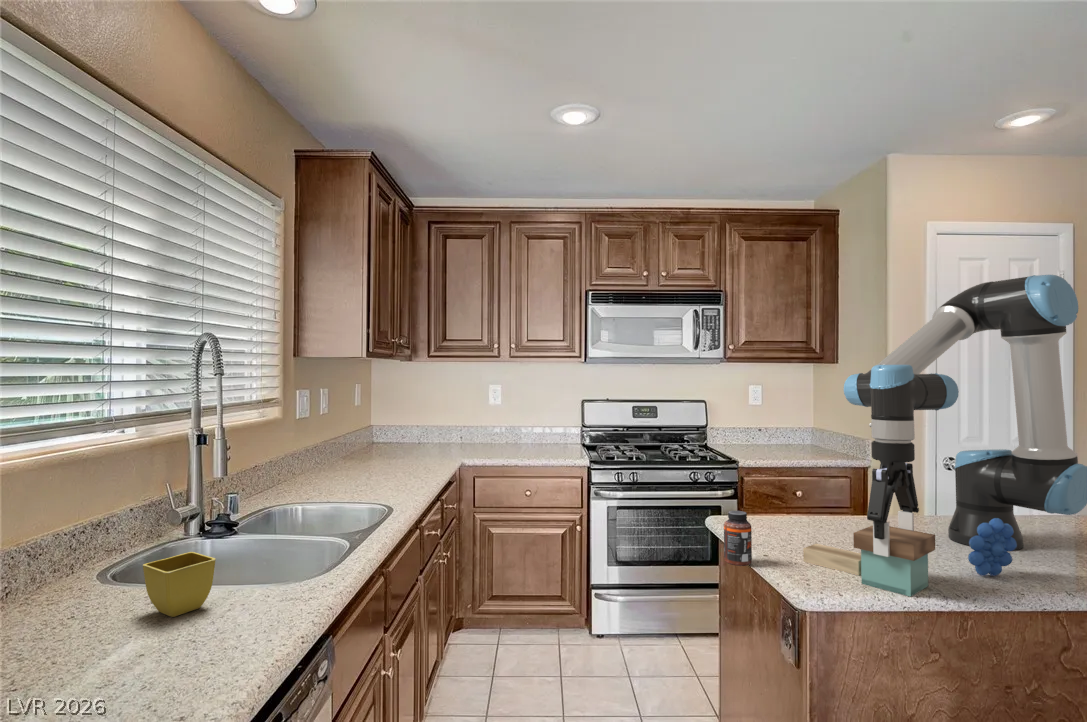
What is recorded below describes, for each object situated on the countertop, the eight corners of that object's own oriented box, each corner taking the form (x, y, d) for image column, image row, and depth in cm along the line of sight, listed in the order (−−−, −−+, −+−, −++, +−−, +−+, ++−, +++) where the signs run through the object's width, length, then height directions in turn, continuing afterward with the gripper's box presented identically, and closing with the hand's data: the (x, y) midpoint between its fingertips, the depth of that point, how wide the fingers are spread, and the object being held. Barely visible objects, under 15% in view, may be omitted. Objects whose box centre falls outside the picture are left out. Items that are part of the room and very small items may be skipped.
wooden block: (816, 556, 138) (816, 543, 138) (871, 569, 129) (870, 555, 129) (803, 561, 134) (803, 548, 134) (858, 575, 125) (858, 561, 125)
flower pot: (165, 624, 102) (166, 572, 102) (141, 614, 107) (141, 563, 107) (216, 607, 110) (217, 558, 110) (191, 598, 114) (191, 551, 114)
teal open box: (880, 574, 126) (879, 540, 126) (928, 585, 119) (927, 550, 119) (861, 583, 120) (861, 549, 120) (910, 596, 113) (910, 559, 113)
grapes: (995, 567, 130) (994, 512, 130) (1026, 577, 124) (1025, 519, 124) (951, 571, 127) (950, 515, 128) (981, 582, 121) (980, 522, 121)
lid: (876, 537, 127) (876, 523, 127) (935, 549, 119) (935, 534, 119) (853, 547, 121) (853, 532, 121) (914, 560, 112) (913, 544, 112)
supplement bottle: (753, 567, 130) (753, 516, 131) (725, 566, 131) (724, 514, 132) (749, 559, 136) (749, 509, 136) (722, 557, 137) (722, 508, 138)
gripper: (896, 435, 130) (897, 534, 130) (846, 443, 116) (848, 556, 115) (935, 437, 125) (937, 542, 124) (888, 447, 110) (889, 566, 109)
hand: (894, 549), depth 120 cm, fingers open, 11 cm apart
